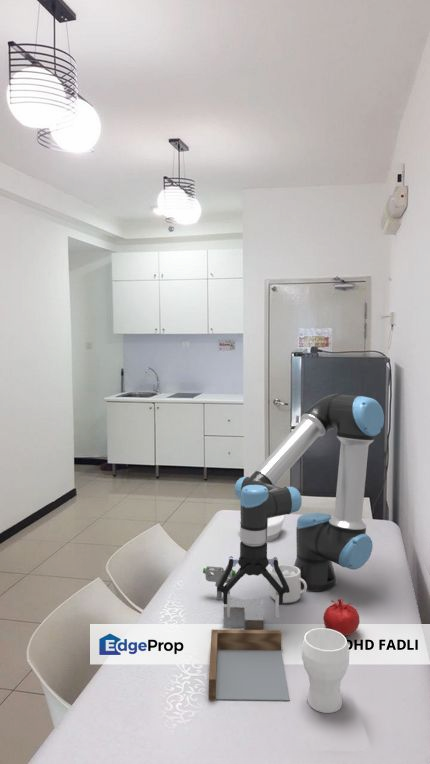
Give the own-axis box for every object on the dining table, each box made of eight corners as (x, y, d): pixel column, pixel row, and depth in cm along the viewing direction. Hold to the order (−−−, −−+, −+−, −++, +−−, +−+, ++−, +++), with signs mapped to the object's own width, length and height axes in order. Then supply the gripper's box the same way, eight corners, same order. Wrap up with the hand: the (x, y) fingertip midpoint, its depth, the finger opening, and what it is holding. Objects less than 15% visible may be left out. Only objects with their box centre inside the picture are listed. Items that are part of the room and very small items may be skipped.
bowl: (271, 550, 215) (272, 527, 214) (232, 541, 224) (232, 519, 223) (290, 536, 230) (290, 514, 229) (253, 529, 239) (253, 508, 238)
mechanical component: (234, 602, 172) (234, 572, 171) (202, 599, 174) (202, 569, 173) (235, 598, 175) (235, 568, 174) (204, 595, 177) (204, 565, 176)
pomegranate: (364, 638, 152) (365, 605, 151) (330, 641, 150) (331, 608, 149) (350, 620, 161) (351, 589, 161) (318, 623, 160) (318, 592, 159)
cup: (296, 688, 130) (296, 627, 129) (339, 685, 131) (340, 625, 130) (307, 719, 119) (308, 653, 118) (355, 716, 120) (356, 651, 119)
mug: (312, 595, 177) (312, 567, 176) (302, 609, 168) (301, 580, 167) (277, 587, 182) (277, 561, 182) (265, 601, 173) (265, 573, 173)
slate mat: (281, 651, 145) (281, 650, 145) (289, 701, 125) (289, 699, 125) (217, 650, 146) (217, 649, 146) (215, 700, 126) (215, 698, 126)
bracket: (260, 618, 162) (260, 599, 162) (263, 641, 150) (263, 620, 150) (223, 618, 163) (223, 598, 162) (223, 640, 151) (223, 619, 150)
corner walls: (280, 648, 147) (280, 630, 146) (289, 701, 125) (289, 680, 125) (211, 647, 147) (211, 629, 147) (208, 700, 126) (208, 679, 125)
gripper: (296, 537, 156) (295, 609, 157) (209, 536, 156) (208, 607, 158) (300, 547, 148) (298, 622, 150) (208, 545, 149) (207, 621, 150)
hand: (252, 615), depth 154 cm, fingers open, 13 cm apart
